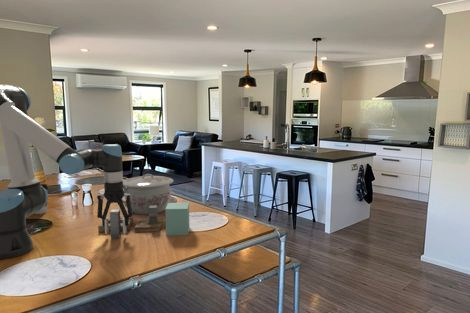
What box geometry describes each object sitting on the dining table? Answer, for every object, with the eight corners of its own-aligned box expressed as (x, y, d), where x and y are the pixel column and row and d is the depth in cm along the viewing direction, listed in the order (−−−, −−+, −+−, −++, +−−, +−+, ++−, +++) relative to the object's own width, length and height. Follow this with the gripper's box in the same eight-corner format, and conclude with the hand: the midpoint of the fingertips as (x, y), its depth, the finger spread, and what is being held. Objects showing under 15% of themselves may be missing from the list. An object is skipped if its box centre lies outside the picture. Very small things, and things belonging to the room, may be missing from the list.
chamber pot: (182, 206, 193) (181, 170, 190) (159, 221, 166) (158, 180, 164) (139, 202, 200) (138, 168, 197) (110, 216, 174) (108, 177, 171)
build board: (128, 231, 152) (127, 225, 152) (98, 232, 151) (98, 226, 151) (133, 223, 163) (133, 217, 162) (106, 224, 162) (105, 218, 161)
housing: (188, 234, 149) (187, 208, 147) (166, 235, 148) (165, 209, 146) (189, 227, 158) (189, 202, 157) (168, 227, 158) (168, 202, 156)
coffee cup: (41, 215, 175) (39, 187, 173) (27, 214, 177) (25, 186, 175) (53, 210, 183) (51, 183, 181) (40, 209, 185) (37, 182, 183)
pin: (119, 238, 144) (117, 211, 142) (111, 239, 143) (109, 211, 142) (121, 235, 147) (120, 209, 145) (113, 236, 147) (112, 209, 145)
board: (159, 231, 153) (158, 209, 152) (134, 231, 152) (133, 210, 151) (162, 223, 164) (162, 203, 162) (139, 223, 163) (139, 203, 162)
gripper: (139, 178, 146) (140, 229, 149) (92, 179, 145) (95, 230, 148) (135, 182, 139) (137, 235, 142) (86, 183, 137) (89, 236, 141)
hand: (115, 232), depth 145 cm, fingers open, 7 cm apart
